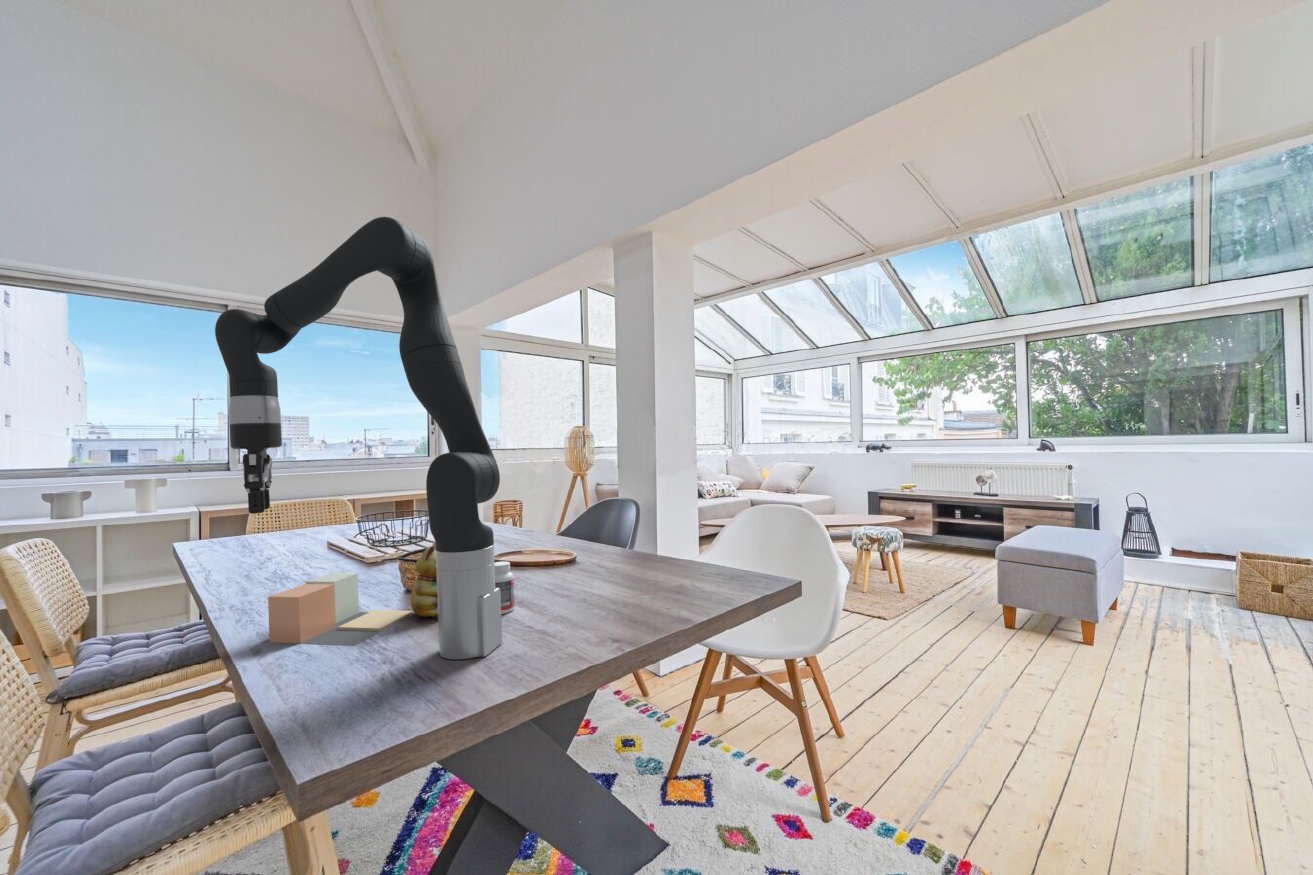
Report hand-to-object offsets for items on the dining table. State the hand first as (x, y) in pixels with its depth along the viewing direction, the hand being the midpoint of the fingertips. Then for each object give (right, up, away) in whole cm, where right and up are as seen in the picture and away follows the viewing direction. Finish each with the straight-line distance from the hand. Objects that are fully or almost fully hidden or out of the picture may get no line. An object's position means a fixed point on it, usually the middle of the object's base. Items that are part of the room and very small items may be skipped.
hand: (259, 511), depth 97 cm
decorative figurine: (+27, -23, +12) cm, 37 cm away
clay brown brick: (+7, -23, +2) cm, 24 cm away
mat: (+12, -23, +6) cm, 27 cm away
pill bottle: (+40, -23, +13) cm, 48 cm away
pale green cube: (+6, -23, +11) cm, 27 cm away
